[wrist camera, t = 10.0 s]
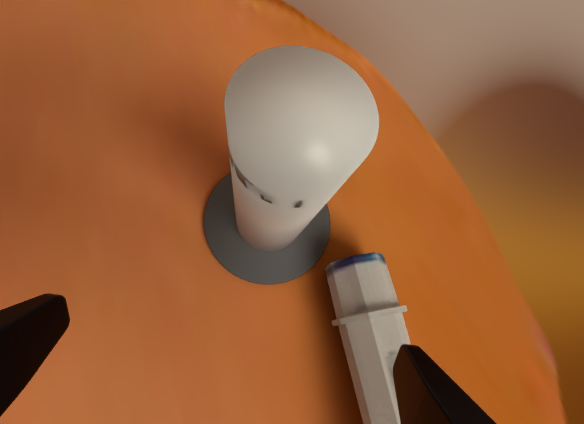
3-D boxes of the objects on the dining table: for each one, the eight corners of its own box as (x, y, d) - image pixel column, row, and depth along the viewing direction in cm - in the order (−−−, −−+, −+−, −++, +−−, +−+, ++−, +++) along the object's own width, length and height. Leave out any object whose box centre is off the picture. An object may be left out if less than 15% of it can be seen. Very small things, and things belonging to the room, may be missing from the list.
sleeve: (252, 263, 19) (267, 206, 7) (225, 203, 20) (198, 67, 8) (311, 235, 20) (406, 147, 8) (283, 180, 21) (333, 32, 9)
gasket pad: (264, 313, 18) (264, 314, 18) (177, 214, 19) (176, 213, 19) (352, 225, 21) (354, 224, 21) (272, 142, 22) (273, 140, 22)
